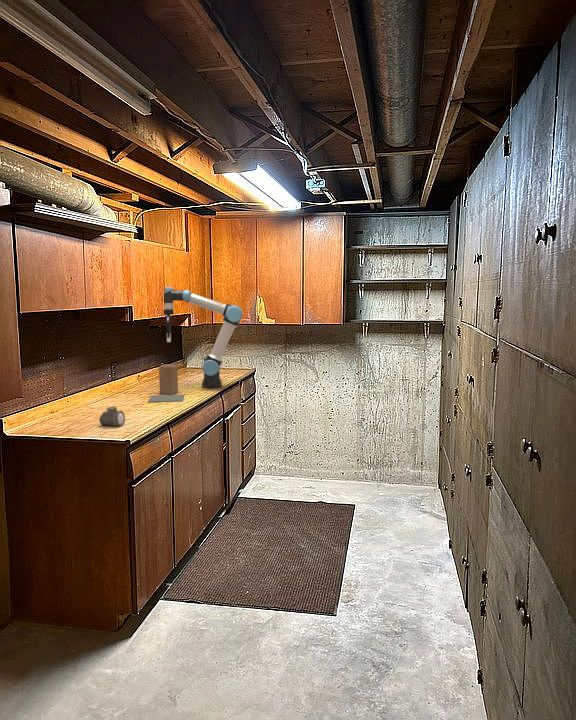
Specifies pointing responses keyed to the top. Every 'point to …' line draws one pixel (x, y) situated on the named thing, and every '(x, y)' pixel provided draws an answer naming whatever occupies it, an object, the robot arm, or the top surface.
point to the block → (168, 379)
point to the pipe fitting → (112, 417)
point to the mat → (166, 398)
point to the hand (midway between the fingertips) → (168, 342)
